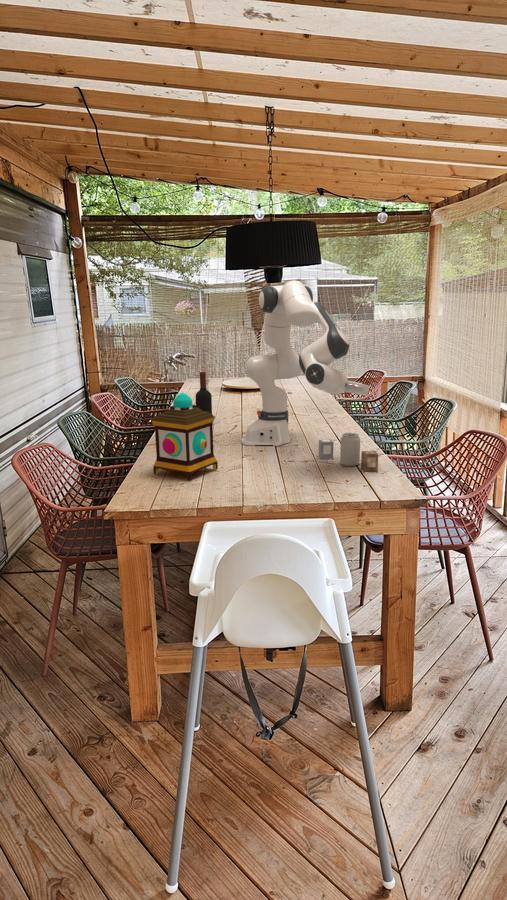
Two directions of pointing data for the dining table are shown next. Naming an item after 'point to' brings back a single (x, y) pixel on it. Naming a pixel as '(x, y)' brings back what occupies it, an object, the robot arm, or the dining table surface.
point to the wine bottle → (204, 395)
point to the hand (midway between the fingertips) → (350, 389)
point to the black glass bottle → (208, 390)
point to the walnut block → (369, 461)
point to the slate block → (326, 449)
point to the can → (350, 449)
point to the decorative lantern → (184, 438)
